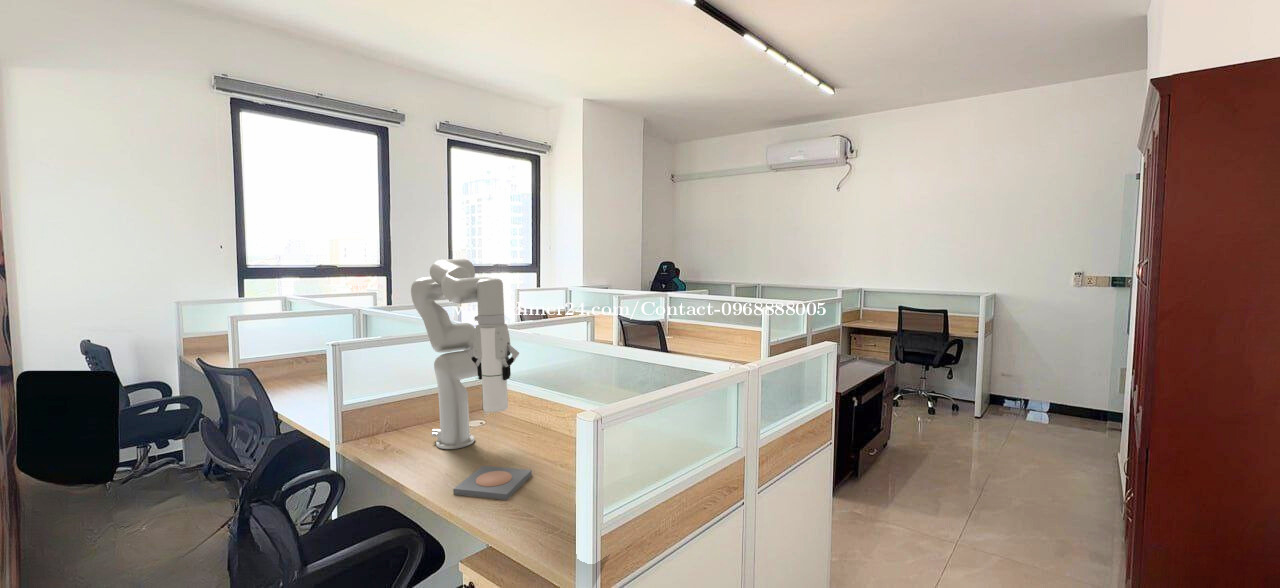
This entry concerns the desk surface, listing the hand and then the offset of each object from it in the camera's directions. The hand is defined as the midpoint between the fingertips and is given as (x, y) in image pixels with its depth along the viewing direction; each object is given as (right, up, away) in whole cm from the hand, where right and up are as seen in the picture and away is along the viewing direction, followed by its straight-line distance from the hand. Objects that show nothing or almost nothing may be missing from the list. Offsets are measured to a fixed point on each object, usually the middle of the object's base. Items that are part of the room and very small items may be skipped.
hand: (494, 378), depth 165 cm
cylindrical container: (0, -10, +1) cm, 9 cm away
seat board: (+2, -29, -8) cm, 30 cm away
